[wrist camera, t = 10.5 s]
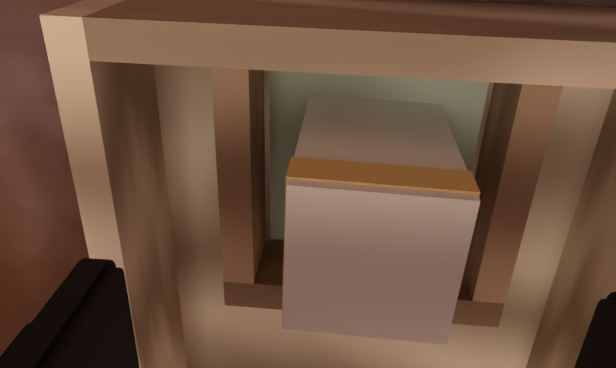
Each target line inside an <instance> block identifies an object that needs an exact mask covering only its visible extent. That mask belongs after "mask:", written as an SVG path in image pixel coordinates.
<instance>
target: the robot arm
mask: <svg viewBox="0 0 616 368" xmlns="http://www.w3.org/2000/svg"><path fill="white" fill-rule="evenodd" d="M0 368H139V361H138V355H137V349H136V343H135V336H134V330H133V324H132V318H131V311H130V305H129V299H128V293H127V286H126V280H125V274H124V270H123V269H122V268H119V267H116V264H115V262H114V261H113V260H108V259H93V258H83V259H81V260H80V261H79V262H78V263H77V265H76V266H75V267H74V269H73V270H72V271H71V272H70V274H69V275H68V276H67V278H66V279H65V280H64V281H63V283H62V284H61V285H60V287H59V288H58V289H57V291H56V292H55V293H54V294H53V296H52V297H51V298H50V300H49V301H48V302H47V303H46V305H45V306H44V307H43V309H42V310H41V311H40V312H39V314H38V315H37V316H36V318H35V319H34V320H33V321H32V323H30V324H27V325H26V326H25V327H24V328H23V329H22V330H21V331H20V333H19V334H18V335H17V337H16V338H15V339H14V340H13V342H12V343H11V344H10V345H9V347H8V348H7V349H6V351H5V352H4V353H3V354H2V356H1V357H0ZM574 368H616V292H612V293H610V294H609V295H608V296H607V298H606V299H601V300H600V301H599V302H598V304H597V306H596V309H595V312H594V314H593V317H592V320H591V323H590V325H589V328H588V331H587V334H586V336H585V339H584V342H583V345H582V347H581V350H580V353H579V356H578V358H577V361H576V364H575V367H574Z"/></svg>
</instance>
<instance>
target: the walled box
mask: <svg viewBox="0 0 616 368" xmlns="http://www.w3.org/2000/svg"><path fill="white" fill-rule="evenodd" d="M39 16H40V21H41V26H42V31H43V35H44V40H45V45H46V50H47V55H48V60H49V65H50V69H51V74H52V79H53V84H54V89H55V94H56V98H57V103H58V108H59V113H60V118H61V123H62V128H63V132H64V137H65V142H66V147H67V152H68V157H69V162H70V166H71V171H72V176H73V181H74V186H75V191H76V195H77V200H78V205H79V210H80V215H81V220H82V225H83V229H84V234H85V239H86V244H87V249H88V254H89V258H93V259H108V260H113V261H114V262H115V264H116V267H119V268H122V269H123V270H124V274H125V280H126V286H127V293H128V299H129V305H130V311H131V318H132V324H133V330H134V336H135V343H136V349H137V355H138V361H139V368H574V367H575V364H576V361H577V358H578V356H579V353H580V350H581V347H582V345H583V342H584V339H585V336H586V334H587V331H588V328H589V325H590V323H591V320H592V317H593V314H594V312H595V309H596V306H597V304H598V302H599V301H600V300H601V299H606V298H607V296H608V295H609V294H610V293H612V292H616V8H614V7H591V6H569V5H546V4H523V3H501V2H478V1H455V0H83V1H80V2H77V3H74V4H71V5H68V6H65V7H62V8H59V9H56V10H53V11H50V12H47V13H44V14H41V15H39ZM310 94H311V95H325V96H339V97H352V98H366V99H379V100H393V101H407V102H420V103H434V104H440V105H441V107H442V110H443V112H444V115H445V117H446V119H447V122H448V124H449V127H450V129H451V131H452V134H453V136H454V139H455V141H456V143H457V146H458V148H459V151H460V153H461V155H462V158H463V160H464V163H465V165H466V167H467V170H468V171H472V174H473V176H474V178H475V181H476V183H477V185H478V188H479V190H480V197H479V199H480V206H479V210H478V214H477V218H476V223H475V227H474V231H473V235H472V240H471V244H470V248H469V252H468V257H467V261H466V265H465V269H464V274H463V278H462V282H461V286H460V290H459V295H458V299H457V303H456V307H455V312H454V316H453V320H452V324H451V329H450V333H449V337H448V341H447V345H444V344H434V343H423V342H413V341H403V340H392V339H382V338H372V337H362V336H351V335H341V334H331V333H321V332H310V331H300V330H290V329H282V322H281V319H282V287H283V255H284V223H285V191H286V174H287V171H288V167H289V163H290V159H291V157H294V154H295V150H296V147H297V143H298V139H299V135H300V131H301V127H302V123H303V119H304V116H305V112H306V108H307V104H308V100H309V96H310Z"/></svg>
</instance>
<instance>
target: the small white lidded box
mask: <svg viewBox="0 0 616 368" xmlns="http://www.w3.org/2000/svg"><path fill="white" fill-rule="evenodd" d="M479 197H480V190H479V188H478V185H477V183H476V181H475V178H474V176H473V174H472V171H468V170H467V167H466V165H465V163H464V160H463V158H462V155H461V153H460V151H459V148H458V146H457V143H456V141H455V139H454V136H453V134H452V131H451V129H450V127H449V124H448V122H447V119H446V117H445V115H444V112H443V110H442V107H441V105H440V104H434V103H420V102H407V101H393V100H379V99H366V98H352V97H339V96H325V95H311V94H310V96H309V100H308V104H307V108H306V112H305V116H304V119H303V123H302V127H301V131H300V135H299V139H298V143H297V147H296V150H295V154H294V157H291V159H290V163H289V167H288V171H287V174H286V191H285V223H284V255H283V287H282V319H281V322H282V329H290V330H300V331H310V332H321V333H331V334H341V335H351V336H362V337H372V338H382V339H392V340H403V341H413V342H423V343H434V344H444V345H447V341H448V337H449V333H450V329H451V324H452V320H453V316H454V312H455V307H456V303H457V299H458V295H459V290H460V286H461V282H462V278H463V274H464V269H465V265H466V261H467V257H468V252H469V248H470V244H471V240H472V235H473V231H474V227H475V223H476V218H477V214H478V210H479V206H480V199H479Z"/></svg>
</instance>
